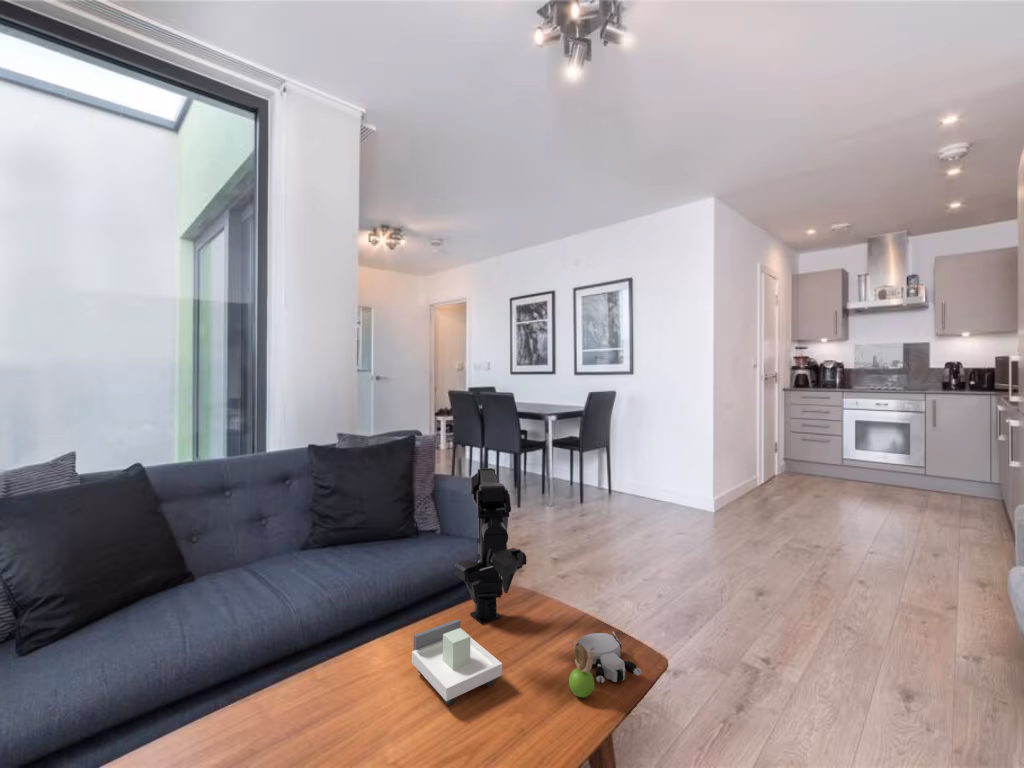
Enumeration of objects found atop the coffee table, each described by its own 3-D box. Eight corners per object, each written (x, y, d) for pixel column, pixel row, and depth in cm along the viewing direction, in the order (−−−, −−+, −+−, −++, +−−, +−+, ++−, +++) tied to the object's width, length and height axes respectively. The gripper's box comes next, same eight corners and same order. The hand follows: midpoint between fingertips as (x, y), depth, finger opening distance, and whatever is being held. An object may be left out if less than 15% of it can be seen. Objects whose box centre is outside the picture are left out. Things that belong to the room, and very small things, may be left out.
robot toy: (644, 685, 104) (611, 644, 119) (646, 666, 104) (612, 627, 118) (596, 696, 101) (567, 652, 115) (597, 676, 100) (568, 634, 115)
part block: (442, 660, 104) (442, 634, 104) (459, 653, 107) (460, 627, 107) (452, 670, 101) (453, 643, 101) (470, 663, 104) (470, 636, 104)
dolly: (409, 670, 107) (409, 636, 107) (461, 649, 116) (461, 617, 116) (446, 713, 94) (446, 673, 93) (501, 686, 102) (502, 649, 102)
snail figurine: (581, 709, 95) (582, 651, 95) (563, 691, 101) (564, 636, 101) (602, 701, 98) (603, 645, 97) (584, 683, 103) (584, 630, 103)
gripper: (478, 553, 104) (477, 622, 104) (540, 537, 115) (540, 599, 115) (453, 539, 113) (452, 603, 113) (513, 525, 124) (512, 583, 124)
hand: (490, 597), depth 116 cm, fingers open, 9 cm apart
